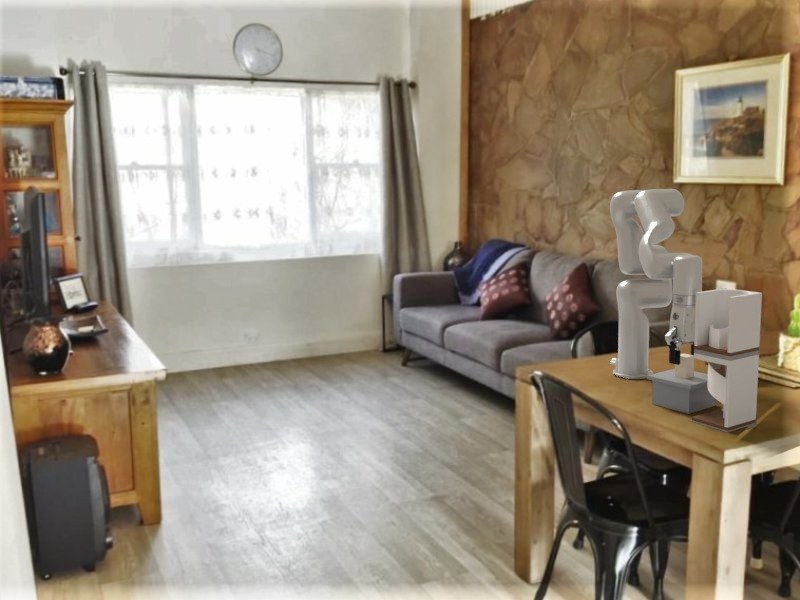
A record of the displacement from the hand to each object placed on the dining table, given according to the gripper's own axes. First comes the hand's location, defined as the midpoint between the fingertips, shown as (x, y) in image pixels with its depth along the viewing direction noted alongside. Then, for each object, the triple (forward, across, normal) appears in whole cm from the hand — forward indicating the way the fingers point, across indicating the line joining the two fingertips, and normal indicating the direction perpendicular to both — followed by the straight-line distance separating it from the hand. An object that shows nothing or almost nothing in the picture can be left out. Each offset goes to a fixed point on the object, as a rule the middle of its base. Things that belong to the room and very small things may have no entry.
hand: (685, 361), depth 212 cm
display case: (+14, -5, -15) cm, 21 cm away
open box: (+13, 0, +1) cm, 13 cm away
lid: (+6, 0, +1) cm, 6 cm away
